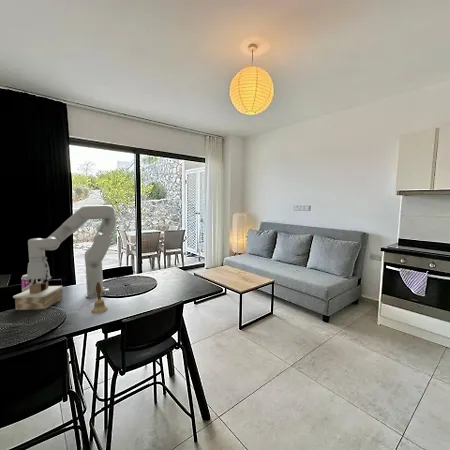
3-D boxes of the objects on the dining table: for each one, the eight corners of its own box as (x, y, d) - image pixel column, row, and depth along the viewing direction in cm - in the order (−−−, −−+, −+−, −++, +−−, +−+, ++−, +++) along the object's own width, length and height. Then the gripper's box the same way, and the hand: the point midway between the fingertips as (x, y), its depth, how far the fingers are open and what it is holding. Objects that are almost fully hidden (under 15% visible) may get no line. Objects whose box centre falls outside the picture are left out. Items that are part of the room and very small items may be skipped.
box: (62, 300, 157) (61, 287, 156) (45, 310, 141) (44, 296, 140) (35, 301, 156) (35, 288, 155) (15, 311, 140) (14, 297, 139)
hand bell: (110, 310, 139) (108, 282, 138) (94, 315, 133) (92, 285, 132) (104, 306, 145) (103, 279, 144) (89, 310, 139) (87, 282, 138)
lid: (62, 287, 157) (62, 278, 156) (44, 296, 140) (44, 287, 139) (34, 288, 156) (34, 279, 155) (13, 298, 139) (12, 288, 138)
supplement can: (29, 300, 158) (28, 276, 157) (19, 299, 159) (17, 276, 158) (41, 295, 165) (40, 273, 165) (31, 295, 167) (29, 273, 166)
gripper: (56, 257, 151) (58, 287, 152) (27, 258, 150) (29, 288, 151) (47, 260, 143) (50, 291, 144) (17, 261, 142) (19, 292, 143)
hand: (39, 289), depth 148 cm, fingers closed on lid, 4 cm apart
